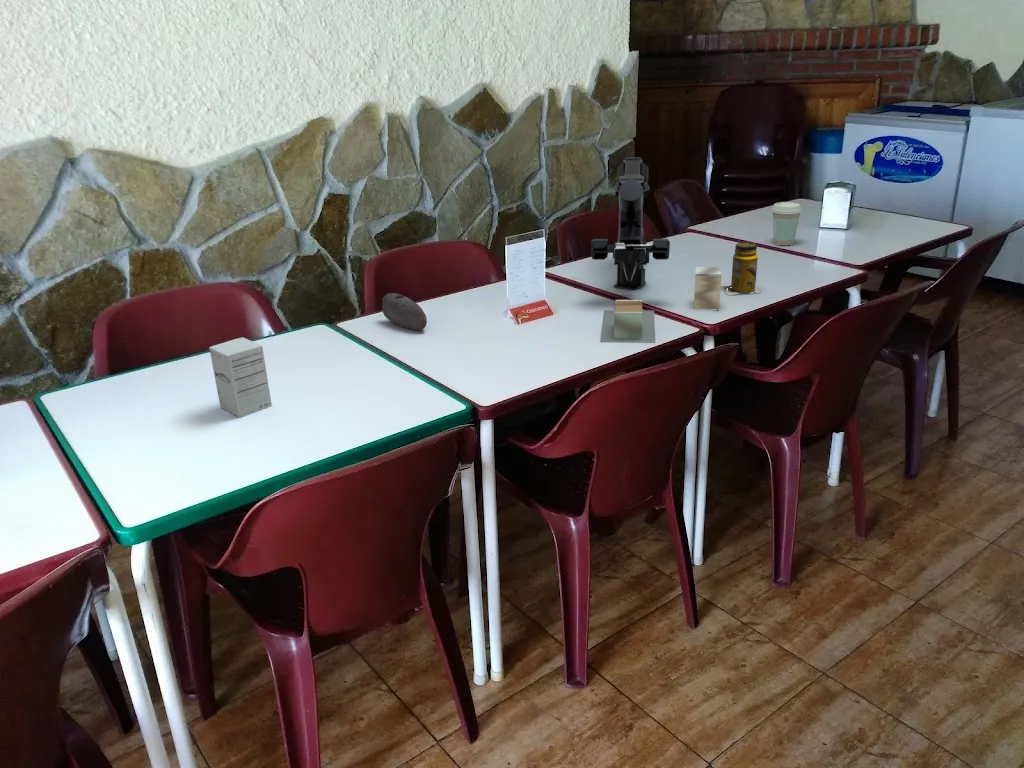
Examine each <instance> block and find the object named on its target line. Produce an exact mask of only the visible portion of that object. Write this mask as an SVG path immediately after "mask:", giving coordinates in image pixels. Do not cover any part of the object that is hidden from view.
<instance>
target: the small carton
mask: <svg viewBox="0 0 1024 768" xmlns="http://www.w3.org/2000/svg"><path fill="white" fill-rule="evenodd" d="M614 310H615V313H614V338H633V339H642V311H643V299H615V303H614Z"/></svg>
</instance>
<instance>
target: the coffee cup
mask: <svg viewBox="0 0 1024 768" xmlns="http://www.w3.org/2000/svg"><path fill="white" fill-rule="evenodd" d="M772 206H773V207H772V208H771V212H772V228H773V230H772V232H773V244H774V245H775V244H776V245H775V246H778V245H786V246H785V247H788V246H787V245H791V246H793V245H794V244H795V239H796V235H797V230H798V225H799V221H800V215H801V213H802V207H801V204H800V203H798V202H792V201H781V202H776V203H774V204H773V205H772Z"/></svg>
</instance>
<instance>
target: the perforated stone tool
mask: <svg viewBox="0 0 1024 768" xmlns="http://www.w3.org/2000/svg"><path fill="white" fill-rule="evenodd" d="M381 301H382V302H381V305H382V306H381V307H382V314H383V316H384V317H385V318H386V319H388V321H391V322H392V323H393V324H395V325H397V326H400V327H404V328H407V329H411V330H415V331H416V330H417V331H420V330H424V329H425V328H426V326H427V323H428V319H427V315H426V314H425V312H424V310H423V308H422V307H421V306H420V305H419V304H418V303H416V302H415V301H414V300H412V299H410V298H409V297H407V296H406V295H405V296H404V295H403V294H400V293H396V292H391V293H390V292H389V293H386V295H384V296H383V297H382V300H381Z"/></svg>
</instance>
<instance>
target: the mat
mask: <svg viewBox="0 0 1024 768" xmlns="http://www.w3.org/2000/svg"><path fill="white" fill-rule="evenodd" d="M614 313H615V309H607V310H604V309H603V316H602V324H601V331H600V332H601V333H600V340H599V342H600V343H622V344H623V343H629V344H631V343H632V344H633V343H637V344H644V343H645V344H656V330H655V329H656V325H655V310H642V339H633V338H614Z"/></svg>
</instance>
